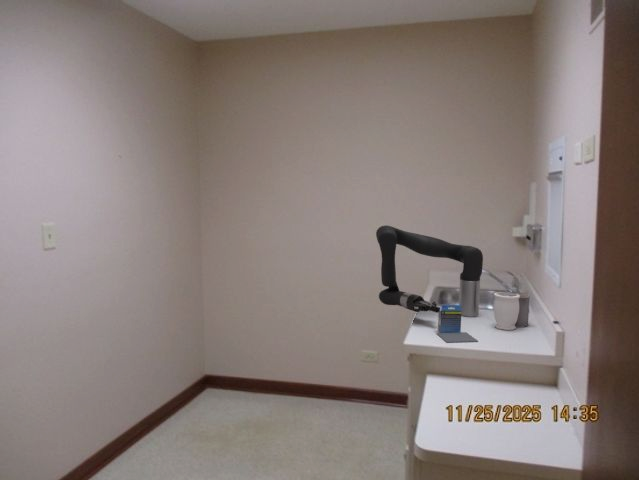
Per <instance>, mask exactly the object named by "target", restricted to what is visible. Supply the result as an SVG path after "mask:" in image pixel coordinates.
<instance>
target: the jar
mask: <svg viewBox="0 0 639 480" xmlns="http://www.w3.org/2000/svg"><path fill="white" fill-rule="evenodd" d="M493 295H494V296H493V297H495V298H494V301H493V313H494V314H493V315H494V317H493V318H494V320H495V322H496V323H495V325H494V326H495V327H496V328H497V329H499V330H504V331H513V330H516V328H517V327H515V324H516V322H517V319H518V314H519V300H518V299H519V298H520V295H518V294H515V293H510V292H509V291H498V292H495V293H494V294H493ZM509 296H513V297H509Z"/></svg>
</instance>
